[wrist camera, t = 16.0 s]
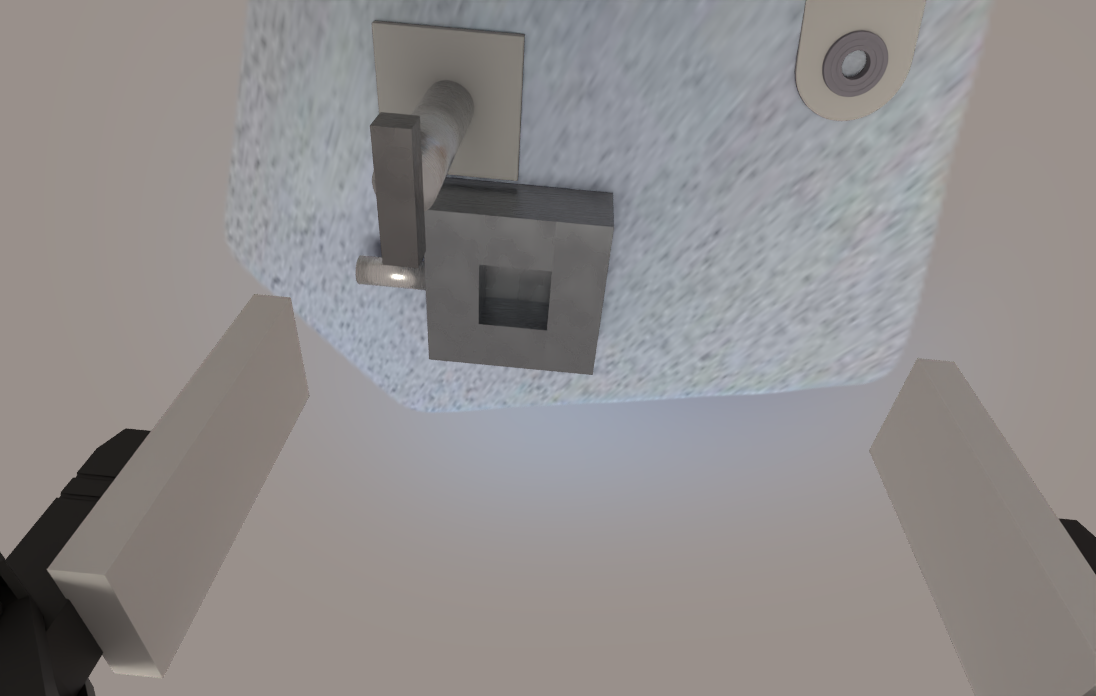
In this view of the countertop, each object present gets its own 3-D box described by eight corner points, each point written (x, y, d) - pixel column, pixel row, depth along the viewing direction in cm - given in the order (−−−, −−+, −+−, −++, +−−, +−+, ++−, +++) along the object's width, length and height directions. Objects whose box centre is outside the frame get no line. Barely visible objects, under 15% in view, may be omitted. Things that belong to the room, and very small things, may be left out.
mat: (374, 20, 40) (371, 22, 40) (524, 34, 40) (523, 36, 40) (385, 164, 46) (383, 168, 45) (518, 177, 46) (517, 180, 45)
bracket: (785, 117, 42) (797, 136, 40) (815, -70, 36) (832, -63, 34) (893, 114, 42) (913, 133, 39) (941, -76, 36) (970, -69, 33)
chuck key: (474, 162, 44) (432, 269, 34) (425, 157, 44) (368, 263, 34) (474, 49, 40) (427, 130, 29) (421, 45, 40) (354, 124, 29)
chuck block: (364, 169, 46) (342, 201, 42) (612, 193, 46) (613, 227, 42) (379, 314, 53) (361, 352, 49) (593, 334, 53) (592, 374, 49)
